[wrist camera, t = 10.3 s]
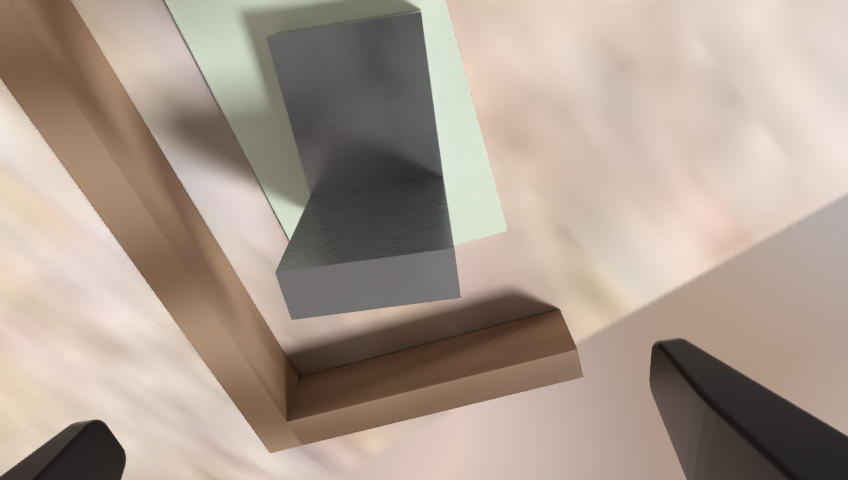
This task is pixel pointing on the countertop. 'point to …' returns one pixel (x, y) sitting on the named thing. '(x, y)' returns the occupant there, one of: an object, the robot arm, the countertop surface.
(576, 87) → the countertop surface
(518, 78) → the countertop surface
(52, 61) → the brown chevron piece
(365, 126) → the bracket
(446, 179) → the mat
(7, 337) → the countertop surface
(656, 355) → the robot arm
